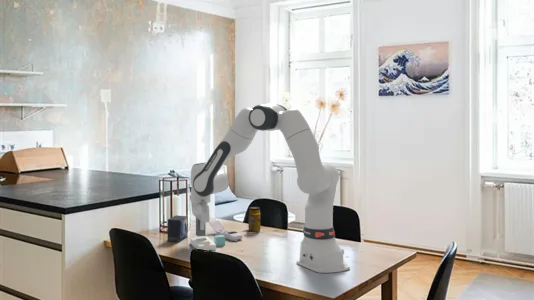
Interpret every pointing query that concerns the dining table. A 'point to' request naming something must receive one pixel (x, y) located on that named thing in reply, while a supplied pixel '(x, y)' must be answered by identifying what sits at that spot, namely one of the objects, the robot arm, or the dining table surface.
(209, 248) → the power strip
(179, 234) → the small box
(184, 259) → the dining table surface
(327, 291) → the dining table surface
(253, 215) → the condiment
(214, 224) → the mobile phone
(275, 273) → the dining table surface
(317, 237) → the robot arm
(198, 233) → the block
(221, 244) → the teal cube
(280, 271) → the dining table surface
